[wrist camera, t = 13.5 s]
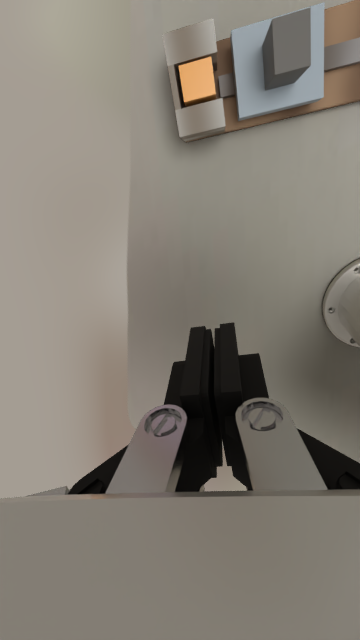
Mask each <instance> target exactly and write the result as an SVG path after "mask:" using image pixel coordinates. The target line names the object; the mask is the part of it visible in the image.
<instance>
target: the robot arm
mask: <svg viewBox="0 0 360 640" xmlns="http://www.w3.org/2000/svg"><path fill="white" fill-rule="evenodd" d="M356 267H357V268H356ZM355 268H356V270H354V269H355ZM329 308H330V309H329ZM323 316H324V320H325V322H326V325H327V326H328V328H329V329H330V331H331V332H332V333H333V334H334V335H335V337H336V338H338V339H339V340H341V341H342V342H344V343H346V344H348V345H351V346H355V347H360V259H358V260H356V261H354V262H352V263H351V264H350V265H348V266H347V267H345V268H344V269H343V270H342V271H341V272H340V273H339V274H338V275H337V276H336V277H335V278H334V280H333V281H332V282H331V284H330V285H329V287H328V289H327V291H326V293H325V297H324V300H323ZM222 440H223V446H224V451H225V456H226V462H227V466H232V471H233V476H234V477H235V478H236V479H237V480H239V481H240V482H241V483H242V484H243V485H245V486H246V488H247V491H214V492H213V491H211V492H204V484H205V483H206V482H207V481H208V480H209V479H210V478H216V477H217V467H218V466H222V465H223V464H222V463H223V460H222ZM0 640H360V463H358V462H356V461H354V460H353V459H351V458H349V457H347V456H345V455H344V454H342V453H340V452H338V451H337V450H335V449H333V448H331V447H329V446H328V445H326V444H324V443H322V442H320V441H319V440H317V439H315V438H313V437H311V436H310V435H308V434H306V433H304V432H302V431H301V430H299V429H297V428H296V426H295V424H294V422H293V420H292V418H291V417H290V415H289V413H288V411H287V409H286V408H285V407H284V405H282V404H281V403H279V402H278V401H275V400H273V399H269V396H268V392H267V387H266V383H265V378H264V373H263V369H262V364H261V360H260V356H259V353H257V354H247V355H238V348H237V341H236V333H235V326H234V323H226V324H220V328H215V349H214V344H213V338H212V332H211V329H207V330H206V328H205V326H202V327H193V328H191V330H190V336H189V342H188V348H187V354H186V360H185V361H179V362H174V363H173V366H172V371H171V375H170V380H169V384H168V388H167V393H166V397H165V402H164V405H161V406H158V407H155V408H153V409H152V410H150V411H149V412H147V413H146V414H145V415H144V416H143V418H142V419H141V421H140V423H139V425H138V427H137V429H136V431H135V433H134V435H133V438H132V439H131V442H130V443H129V445H127V446H126V447H125V448H123V449H122V450H120V451H119V452H118V453H116V454H115V455H114V456H112V457H111V458H109V459H108V460H107V461H105V462H104V463H102V464H101V465H100V466H98V467H97V468H95V469H94V470H93V471H91V472H90V473H88V474H87V475H86V476H84V477H83V478H82V479H80V480H79V481H78V482H77V483H76V484H75V485H74V486H73V487H72V489H70V490H68V488H67V486H65V487H61V488H57V489H53V490H49V491H45V492H41V493H37V494H33V495H29V496H25V497H15V498H3V499H0Z"/></svg>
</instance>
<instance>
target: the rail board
mask: <svg viewBox="0 0 360 640" xmlns="http://www.w3.org/2000/svg"><path fill="white" fill-rule="evenodd" d="M162 37H163V43H164V48H165V54H166V60H167V66H168V72H169V78H170V84H171V89H172V95H173V101H174V107H175V113H176V119H177V125H178V130H179V136H180V138H181V139H183V140H184V141H185V142H190V141H195V140H199V139H203V138H207V137H211V136H216V135H220V134H224V133H228V132H232V131H236V130H241V129H245V128H249V127H253V126H257V125H261V124H266V123H270V122H274V121H278V120H282V119H287V118H291V117H295V116H299V115H303V114H307V113H312V112H316V111H320V110H324V109H328V108H332V107H337V106H341V105H345V104H349V103H353V102H358V101H360V0H355V1H351V2H348V3H345V4H341V5H338V6H335V7H331V8H328V9H324V98H322V99H320V100H319V101H317V102H314V103H310V104H306V105H302V106H298V107H294V108H290V109H286V110H282V111H277V112H273V113H269V114H265V115H261V116H257V117H253V118H249V119H245V120H241V121H238V115H237V104H236V94H235V84H234V73H233V63H232V53H231V42H230V38H227V39H223V40H220V41H217V42H216V36H215V27H214V19H213V18H212V19H209V20H206V21H202V22H199V23H196V24H193V25H189V26H186V27H183V28H180V29H177V30H174V31H170V32H167V33H164V34H162ZM208 57H211V58H212V66H213V75H214V83H215V92H216V100H213V101H209V102H205V103H201V104H197V105H193V106H190V107H186V105H185V103H184V98H183V91H182V85H181V79H180V72H179V66H180V65H183V64H187V63H190V62H194V61H197V60H201V59H204V58H208Z"/></svg>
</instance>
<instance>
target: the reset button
mask: <svg viewBox="0 0 360 640" xmlns="http://www.w3.org/2000/svg"><path fill="white" fill-rule="evenodd" d="M179 72H180V79H181V85H182V91H183V98H184V103H185V105H186V107H190V106H193V105H197V104H201V103H205V102H209V101H213V100H216V92H215V83H214V75H213V66H212V58H211V57H208V58H204V59H201V60H197V61H194V62H190V63H187V64H183V65H180V66H179Z"/></svg>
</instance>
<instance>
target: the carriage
mask: <svg viewBox="0 0 360 640" xmlns="http://www.w3.org/2000/svg"><path fill="white" fill-rule="evenodd" d="M230 42H231V53H232V63H233V73H234V84H235V94H236V104H237V115H238V121H241V120H245V119H249V118H253V117H257V116H261V115H265V114H269V113H273V112H277V111H282V110H286V109H290V108H294V107H298V106H302V105H306V104H310V103H314V102H317V101H319V100H320V99H322V98H324V3H320V4H317V5H314V6H310V7H307V8H304V9H300V10H297V11H294V12H290V13H287V14H284V15H280V16H277V17H274V18H270V19H267V20H264V21H260V22H257V23H254V24H251V25H247V26H244V27H241V28H237V29H234V30H231V37H230Z"/></svg>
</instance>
